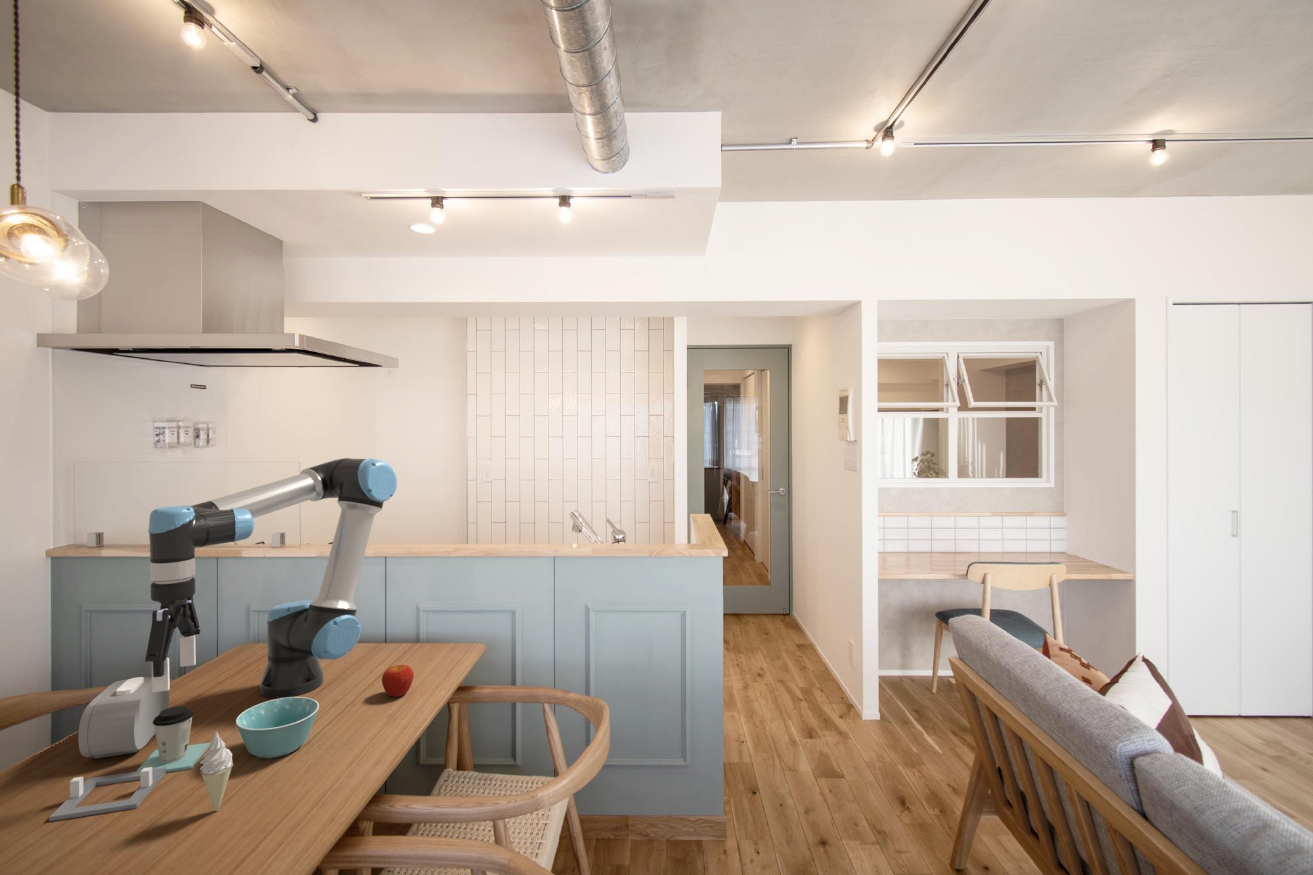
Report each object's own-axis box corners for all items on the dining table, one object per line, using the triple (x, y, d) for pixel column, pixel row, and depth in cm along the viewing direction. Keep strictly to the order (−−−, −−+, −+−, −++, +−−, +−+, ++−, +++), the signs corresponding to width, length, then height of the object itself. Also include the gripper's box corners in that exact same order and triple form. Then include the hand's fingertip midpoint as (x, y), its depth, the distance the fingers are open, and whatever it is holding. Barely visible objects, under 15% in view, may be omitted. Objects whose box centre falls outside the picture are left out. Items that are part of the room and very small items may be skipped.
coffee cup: (201, 753, 133) (200, 707, 133) (164, 769, 127) (163, 721, 127) (182, 746, 136) (182, 701, 136) (145, 761, 130) (145, 714, 129)
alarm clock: (120, 725, 146) (120, 670, 146) (169, 719, 150) (169, 664, 150) (77, 770, 127) (77, 706, 127) (134, 761, 131) (134, 699, 130)
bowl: (334, 737, 142) (334, 702, 141) (272, 773, 127) (272, 734, 127) (284, 726, 147) (284, 692, 147) (218, 759, 132) (218, 721, 132)
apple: (375, 697, 163) (375, 668, 163) (398, 686, 170) (398, 658, 170) (397, 702, 160) (397, 673, 160) (419, 690, 167) (419, 662, 167)
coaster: (209, 745, 138) (209, 742, 138) (191, 768, 128) (191, 765, 128) (155, 752, 134) (155, 749, 134) (133, 776, 125) (133, 774, 125)
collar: (166, 771, 127) (166, 751, 127) (136, 807, 115) (136, 786, 115) (89, 782, 123) (89, 762, 123) (49, 821, 111) (49, 799, 111)
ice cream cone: (211, 802, 117) (211, 724, 116) (239, 801, 117) (239, 723, 117) (193, 819, 112) (193, 738, 111) (222, 818, 112) (222, 737, 112)
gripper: (176, 567, 141) (178, 658, 142) (122, 596, 118) (124, 705, 118) (215, 564, 144) (216, 654, 144) (168, 593, 120) (171, 700, 121)
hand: (175, 677), depth 131 cm, fingers open, 13 cm apart
